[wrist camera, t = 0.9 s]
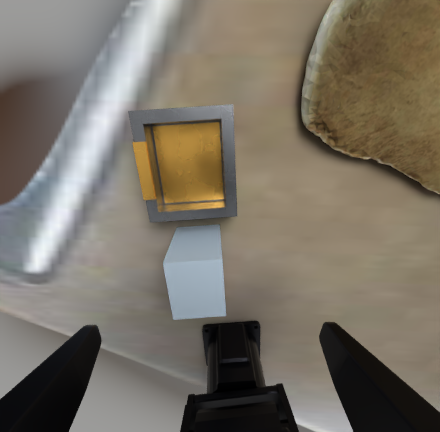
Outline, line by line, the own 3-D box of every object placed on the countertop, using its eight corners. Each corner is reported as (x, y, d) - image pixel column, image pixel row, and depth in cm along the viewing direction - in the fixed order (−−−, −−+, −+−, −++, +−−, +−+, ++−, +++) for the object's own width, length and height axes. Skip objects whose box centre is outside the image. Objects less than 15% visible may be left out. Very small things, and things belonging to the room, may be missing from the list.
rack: (233, 205, 19) (237, 217, 16) (158, 210, 19) (148, 223, 16) (229, 109, 16) (233, 103, 13) (141, 115, 16) (126, 110, 13)
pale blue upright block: (222, 269, 22) (226, 315, 16) (183, 271, 22) (173, 319, 16) (219, 224, 20) (222, 259, 14) (176, 227, 20) (162, 263, 14)
